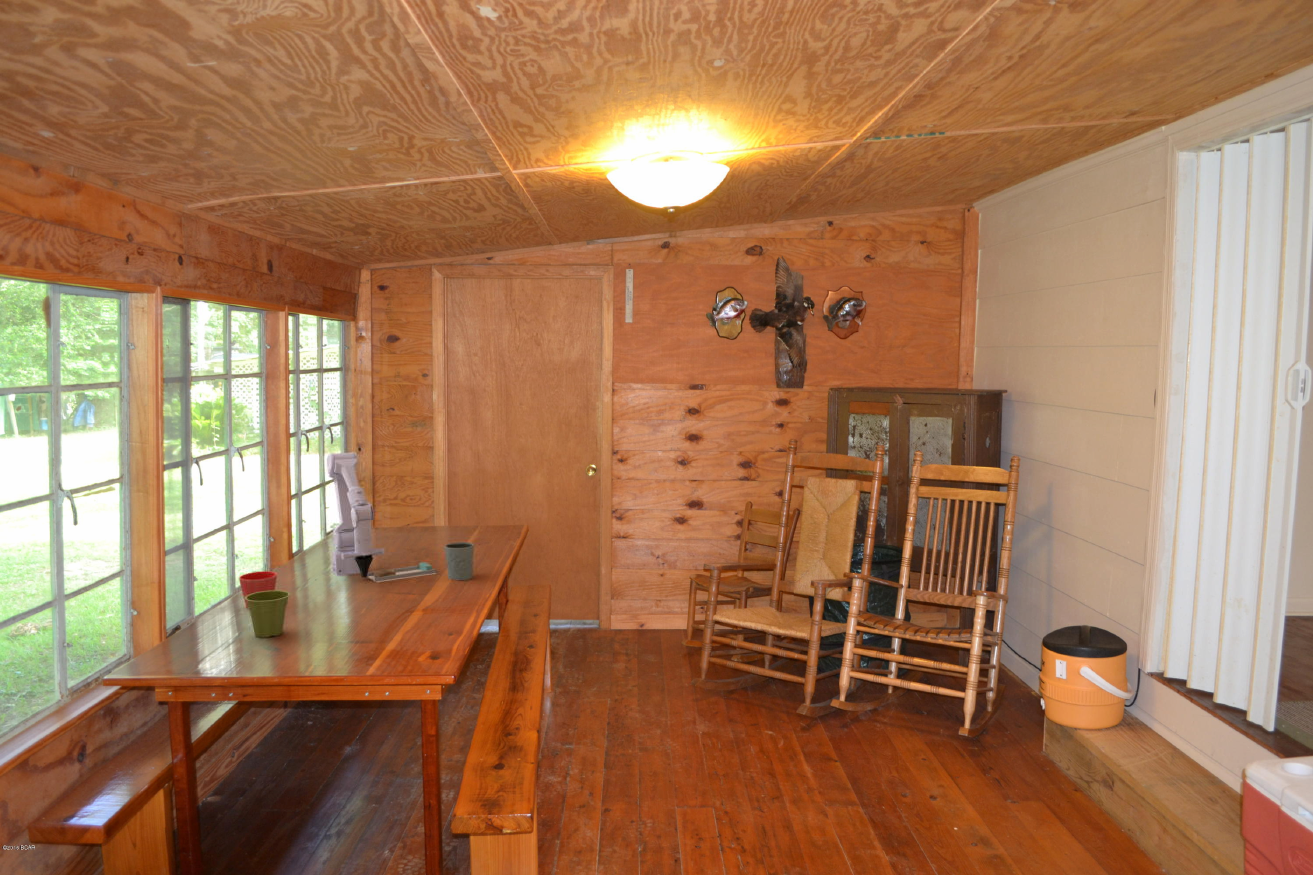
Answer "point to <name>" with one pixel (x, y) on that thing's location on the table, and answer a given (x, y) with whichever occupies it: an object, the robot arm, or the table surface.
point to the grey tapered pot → (459, 560)
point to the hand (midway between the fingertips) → (364, 576)
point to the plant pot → (267, 611)
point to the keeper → (384, 573)
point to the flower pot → (257, 583)
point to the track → (405, 572)
